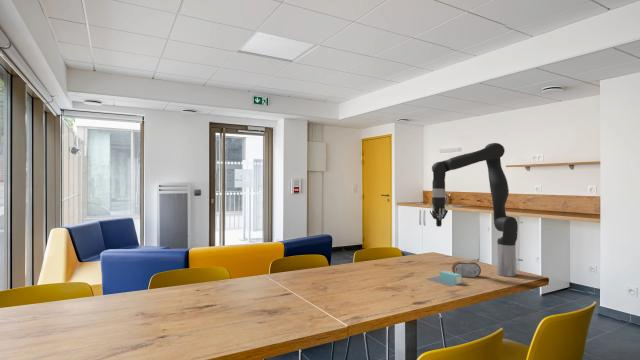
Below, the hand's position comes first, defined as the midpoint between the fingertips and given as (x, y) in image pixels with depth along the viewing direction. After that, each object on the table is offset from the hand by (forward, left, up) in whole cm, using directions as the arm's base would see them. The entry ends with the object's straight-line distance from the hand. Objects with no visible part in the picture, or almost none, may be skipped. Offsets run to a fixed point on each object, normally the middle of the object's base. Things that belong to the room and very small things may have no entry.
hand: (438, 226), depth 211 cm
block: (+12, +13, -24) cm, 30 cm away
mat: (+12, +16, -27) cm, 33 cm away
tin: (-6, +14, -27) cm, 31 cm away
